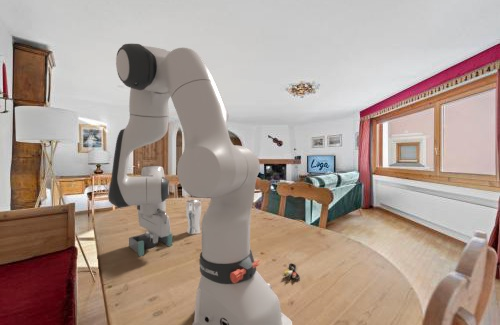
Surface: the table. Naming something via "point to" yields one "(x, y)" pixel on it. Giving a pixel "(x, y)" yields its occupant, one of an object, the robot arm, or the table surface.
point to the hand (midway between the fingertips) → (154, 242)
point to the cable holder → (139, 245)
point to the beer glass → (193, 216)
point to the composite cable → (291, 273)
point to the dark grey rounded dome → (147, 241)
